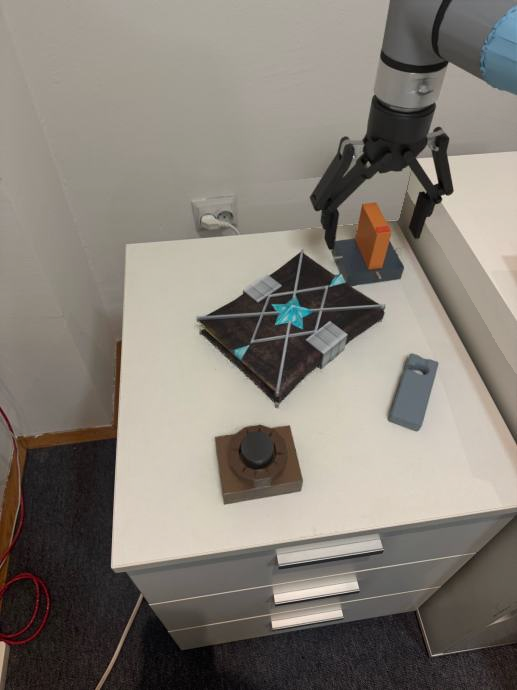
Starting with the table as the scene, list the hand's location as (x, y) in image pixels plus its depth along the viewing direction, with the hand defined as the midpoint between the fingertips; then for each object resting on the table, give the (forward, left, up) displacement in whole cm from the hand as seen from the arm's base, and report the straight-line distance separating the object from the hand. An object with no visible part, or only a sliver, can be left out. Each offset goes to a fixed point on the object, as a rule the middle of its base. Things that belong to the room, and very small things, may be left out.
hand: (371, 238), depth 74 cm
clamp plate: (0, 0, -6) cm, 6 cm away
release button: (-5, +38, -1) cm, 39 cm away
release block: (-5, +38, -6) cm, 39 cm away
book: (+3, +18, -6) cm, 19 cm away
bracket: (-16, +18, -6) cm, 25 cm away
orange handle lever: (0, 0, -3) cm, 3 cm away
